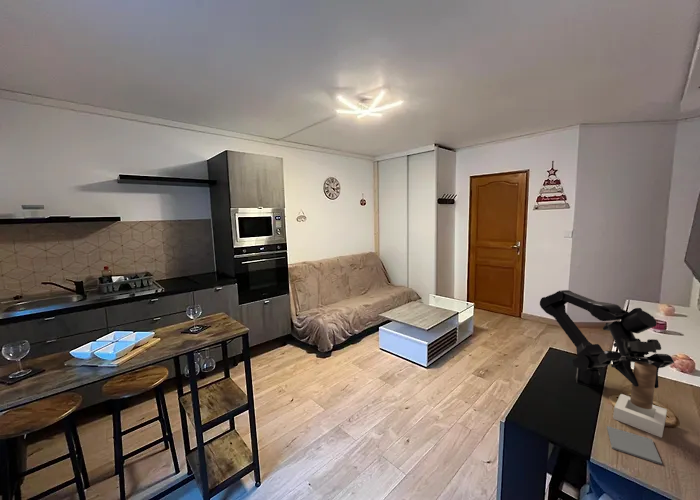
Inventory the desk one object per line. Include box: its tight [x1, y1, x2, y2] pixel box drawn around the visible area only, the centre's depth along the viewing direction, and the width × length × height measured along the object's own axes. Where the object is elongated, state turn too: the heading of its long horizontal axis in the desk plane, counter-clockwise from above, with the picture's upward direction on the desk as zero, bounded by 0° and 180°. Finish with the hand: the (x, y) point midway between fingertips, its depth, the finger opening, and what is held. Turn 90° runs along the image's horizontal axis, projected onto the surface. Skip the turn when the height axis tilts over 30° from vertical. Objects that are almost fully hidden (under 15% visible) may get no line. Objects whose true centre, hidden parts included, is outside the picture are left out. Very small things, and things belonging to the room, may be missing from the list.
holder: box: [612, 393, 668, 439], centre depth 96 cm, size 11×11×4 cm
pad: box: [606, 425, 663, 466], centre depth 86 cm, size 10×10×1 cm
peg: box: [630, 362, 657, 409], centre depth 94 cm, size 5×5×13 cm
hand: (646, 387), depth 93 cm, fingers closed on peg, 5 cm apart
